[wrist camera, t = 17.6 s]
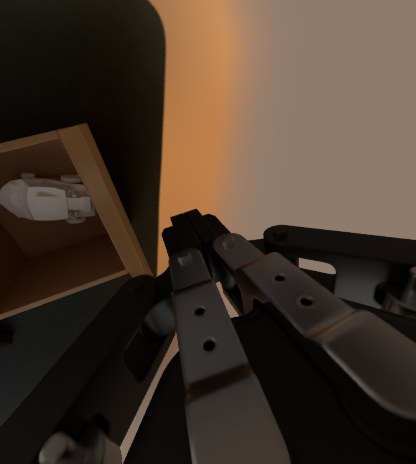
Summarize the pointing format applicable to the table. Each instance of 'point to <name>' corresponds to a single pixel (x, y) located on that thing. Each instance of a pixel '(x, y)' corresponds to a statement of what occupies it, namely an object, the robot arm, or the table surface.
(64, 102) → the table surface
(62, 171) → the brown open box
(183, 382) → the robot arm
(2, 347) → the game controller
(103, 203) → the flap
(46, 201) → the toy car
